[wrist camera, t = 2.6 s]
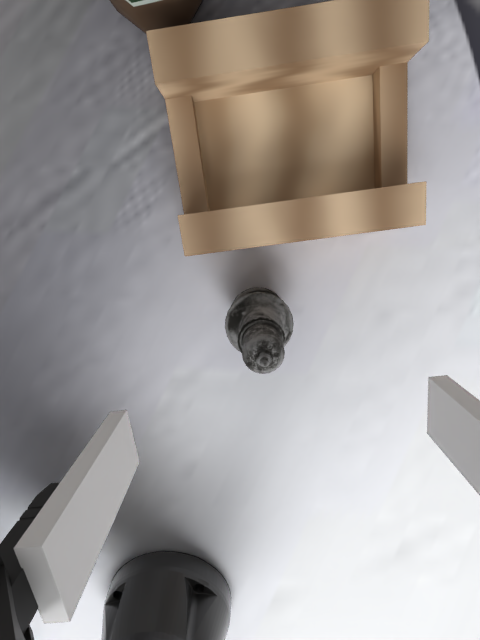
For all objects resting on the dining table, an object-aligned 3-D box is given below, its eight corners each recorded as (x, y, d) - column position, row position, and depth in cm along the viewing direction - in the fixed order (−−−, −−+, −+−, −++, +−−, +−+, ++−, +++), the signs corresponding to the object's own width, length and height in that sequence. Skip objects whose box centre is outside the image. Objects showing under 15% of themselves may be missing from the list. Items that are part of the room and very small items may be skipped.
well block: (194, 250, 31) (184, 256, 26) (164, 67, 28) (146, 31, 22) (394, 224, 31) (425, 224, 25) (392, 31, 27) (429, -16, 21)
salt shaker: (295, 333, 34) (323, 391, 22) (238, 351, 34) (236, 417, 23) (277, 275, 32) (296, 306, 20) (218, 296, 33) (204, 336, 21)
